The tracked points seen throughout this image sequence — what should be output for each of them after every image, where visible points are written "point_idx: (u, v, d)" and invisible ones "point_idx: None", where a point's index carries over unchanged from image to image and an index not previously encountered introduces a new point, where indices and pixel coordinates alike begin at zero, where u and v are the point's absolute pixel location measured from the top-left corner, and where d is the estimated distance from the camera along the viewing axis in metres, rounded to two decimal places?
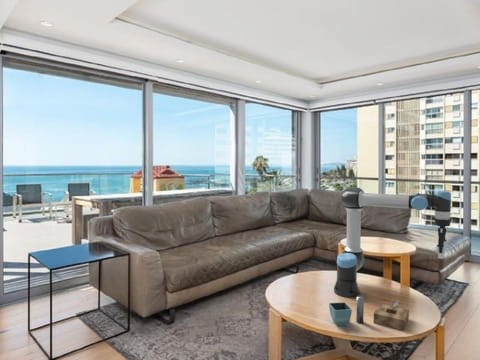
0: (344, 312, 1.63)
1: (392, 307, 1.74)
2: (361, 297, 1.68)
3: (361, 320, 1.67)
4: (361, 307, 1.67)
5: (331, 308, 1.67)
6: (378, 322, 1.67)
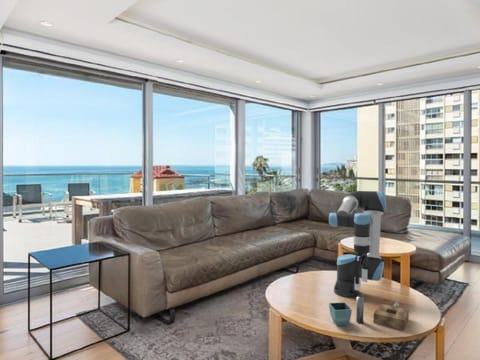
0: (344, 312, 1.63)
1: (392, 307, 1.74)
2: (361, 297, 1.68)
3: (361, 320, 1.67)
4: (361, 307, 1.67)
5: (331, 308, 1.67)
6: (378, 322, 1.67)
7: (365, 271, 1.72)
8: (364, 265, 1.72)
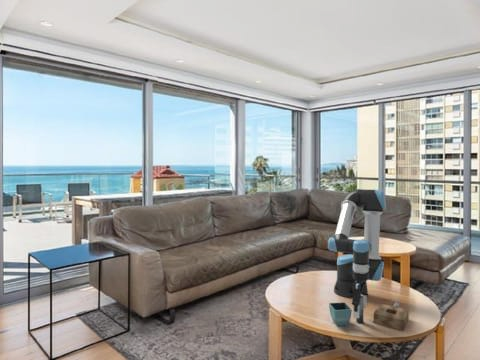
0: (344, 312, 1.63)
1: (392, 307, 1.74)
2: (361, 297, 1.68)
3: (361, 320, 1.67)
4: (361, 307, 1.67)
5: (331, 308, 1.67)
6: (378, 322, 1.67)
7: (364, 297, 1.73)
8: (363, 291, 1.72)
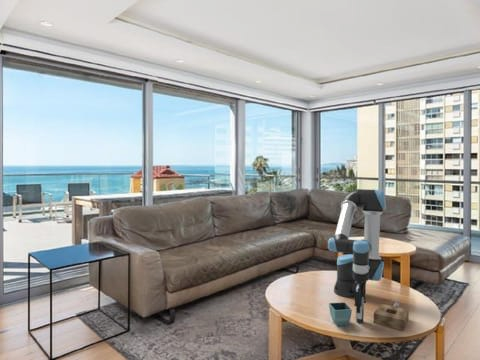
0: (344, 312, 1.63)
1: (392, 307, 1.74)
2: None
3: (361, 320, 1.67)
4: None
5: (331, 308, 1.67)
6: (378, 322, 1.67)
7: None
8: (361, 296, 1.70)
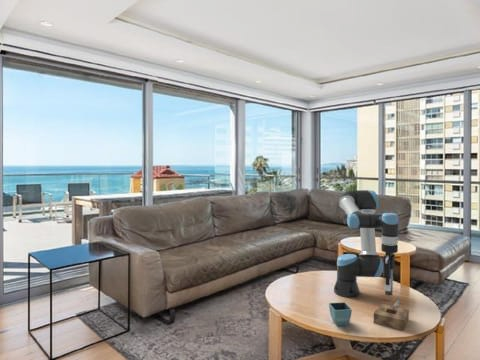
0: (344, 312, 1.63)
1: (392, 307, 1.74)
2: None
3: (390, 292, 1.67)
4: None
5: (331, 308, 1.67)
6: (378, 322, 1.67)
7: None
8: None
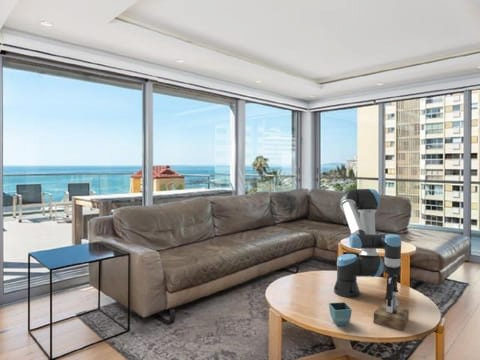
0: (344, 312, 1.63)
1: None
2: (393, 296, 1.68)
3: None
4: (393, 306, 1.68)
5: (331, 308, 1.67)
6: (378, 322, 1.67)
7: (394, 294, 1.73)
8: (393, 287, 1.72)
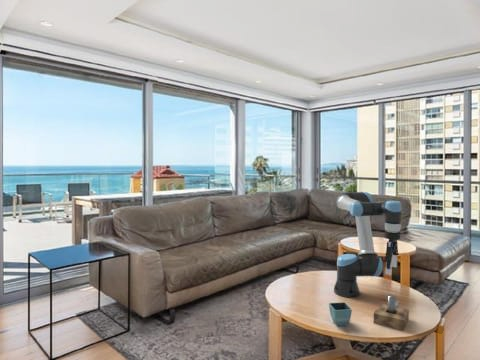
0: (344, 312, 1.63)
1: None
2: (393, 296, 1.68)
3: None
4: (393, 306, 1.68)
5: (331, 308, 1.67)
6: (378, 322, 1.67)
7: (395, 257, 1.78)
8: (394, 251, 1.77)
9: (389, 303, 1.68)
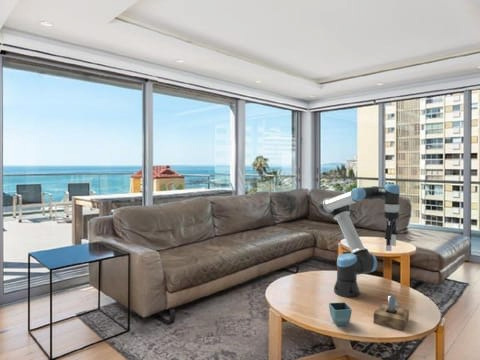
0: (344, 312, 1.63)
1: None
2: (392, 296, 1.69)
3: None
4: (393, 306, 1.68)
5: (331, 308, 1.67)
6: (378, 322, 1.67)
7: (394, 236, 1.95)
8: (393, 231, 1.94)
9: (389, 303, 1.68)
